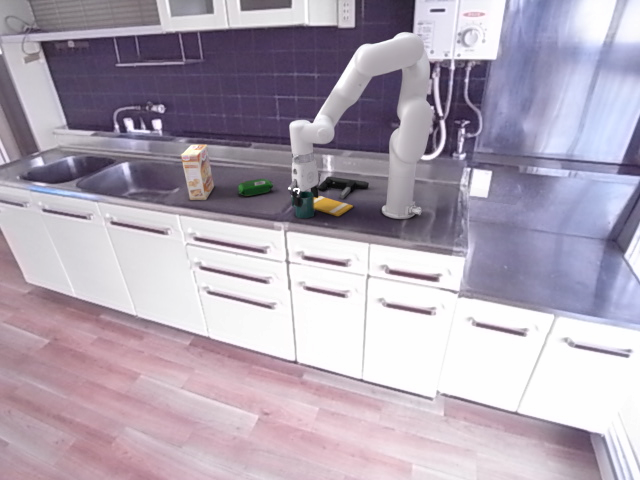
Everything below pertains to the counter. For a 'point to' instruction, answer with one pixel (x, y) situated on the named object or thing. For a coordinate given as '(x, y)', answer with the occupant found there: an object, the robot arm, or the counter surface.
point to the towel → (330, 206)
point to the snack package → (255, 187)
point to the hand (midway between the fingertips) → (306, 201)
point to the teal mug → (305, 205)
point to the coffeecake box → (197, 172)
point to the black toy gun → (342, 185)
